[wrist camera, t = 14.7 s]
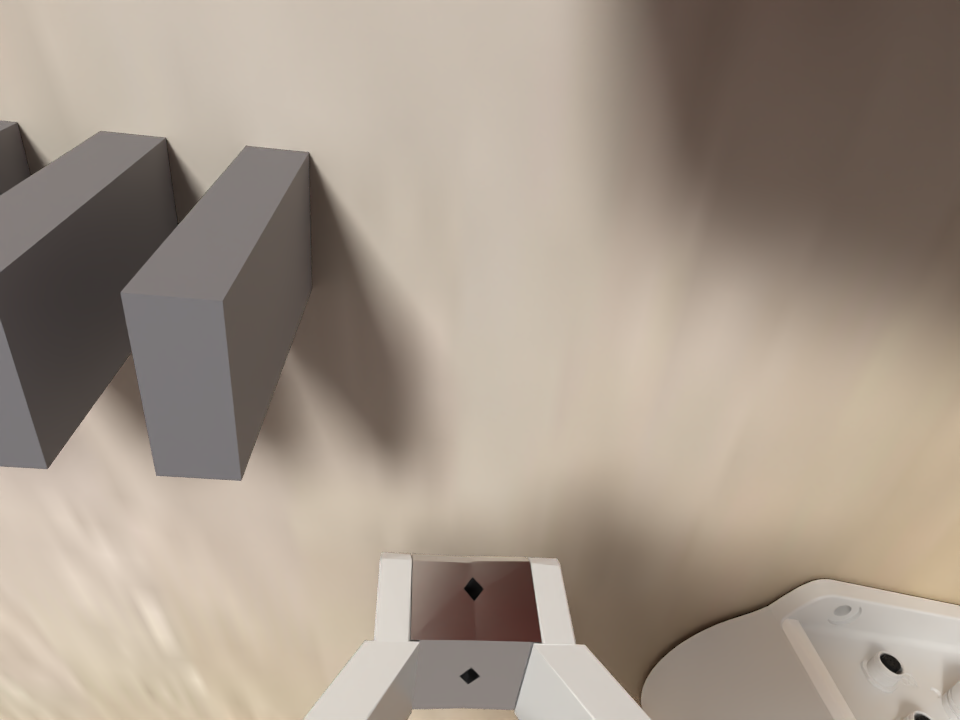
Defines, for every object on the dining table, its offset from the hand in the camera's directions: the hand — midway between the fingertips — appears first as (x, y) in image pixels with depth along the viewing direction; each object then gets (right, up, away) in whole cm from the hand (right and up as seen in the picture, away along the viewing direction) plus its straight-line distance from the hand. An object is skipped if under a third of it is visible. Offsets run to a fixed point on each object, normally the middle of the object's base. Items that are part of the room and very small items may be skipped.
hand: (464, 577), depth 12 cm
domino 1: (-11, +9, +11) cm, 18 cm away
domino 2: (-7, +8, +12) cm, 16 cm away
